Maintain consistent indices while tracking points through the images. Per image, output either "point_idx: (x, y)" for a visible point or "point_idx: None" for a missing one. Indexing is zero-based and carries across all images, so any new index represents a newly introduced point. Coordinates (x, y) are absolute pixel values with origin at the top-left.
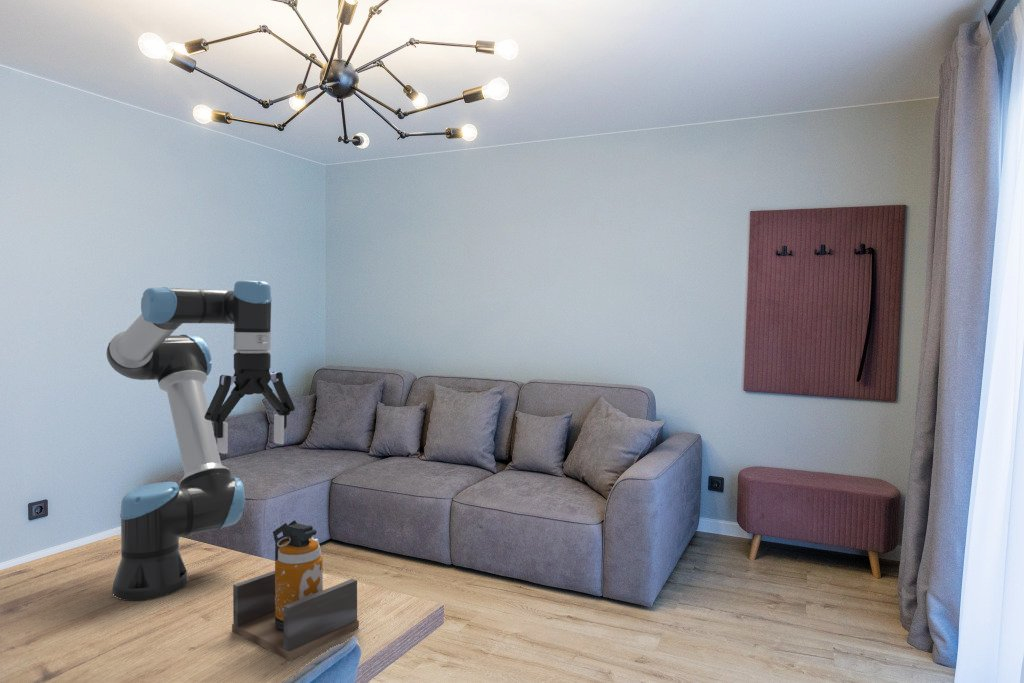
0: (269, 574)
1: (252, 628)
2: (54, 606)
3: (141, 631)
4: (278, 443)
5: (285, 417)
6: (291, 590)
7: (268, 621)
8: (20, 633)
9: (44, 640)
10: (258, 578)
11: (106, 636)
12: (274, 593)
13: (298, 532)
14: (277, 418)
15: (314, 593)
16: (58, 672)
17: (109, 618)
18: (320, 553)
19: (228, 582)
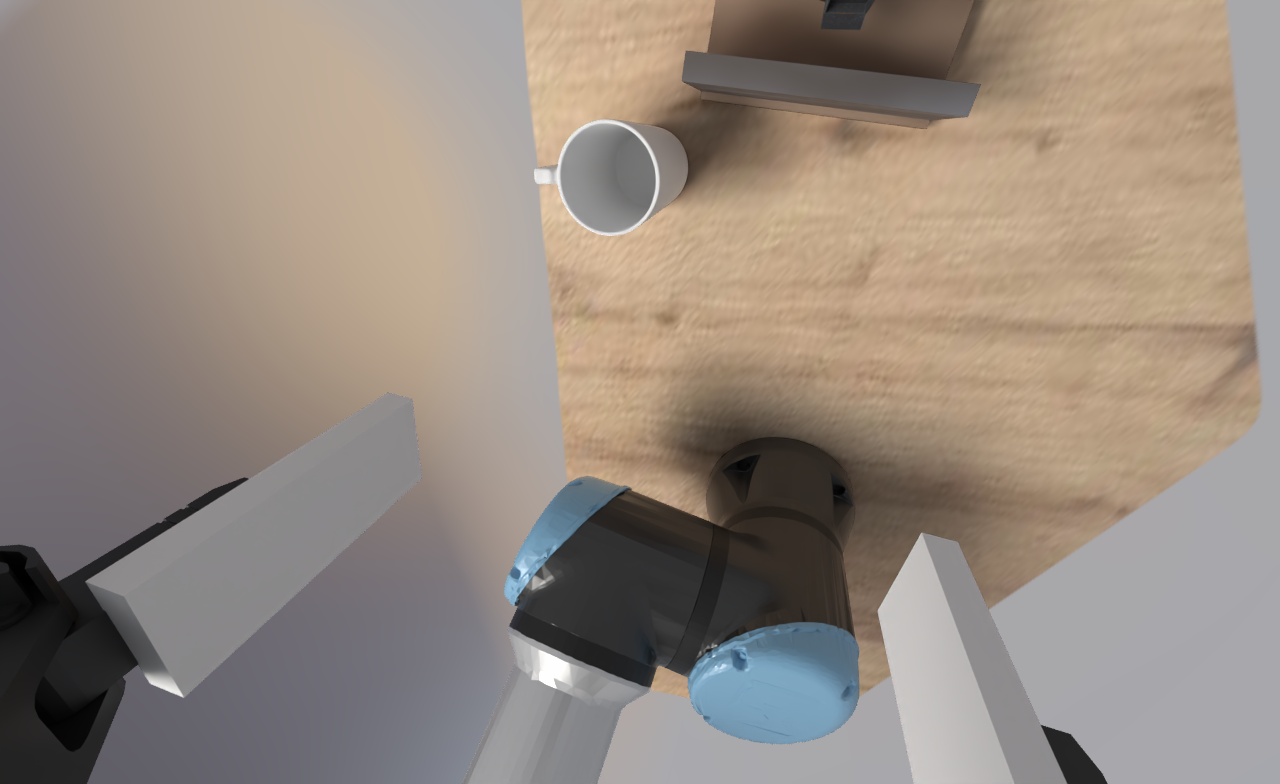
0: (834, 78)
1: (937, 37)
2: None
3: (982, 343)
4: (414, 429)
5: (108, 565)
6: None
7: (878, 34)
8: (1053, 545)
9: (1076, 485)
10: (883, 80)
11: (1027, 391)
12: (863, 21)
13: None
14: (204, 615)
15: None
16: (1243, 335)
17: (939, 454)
18: (546, 166)
19: (685, 377)
